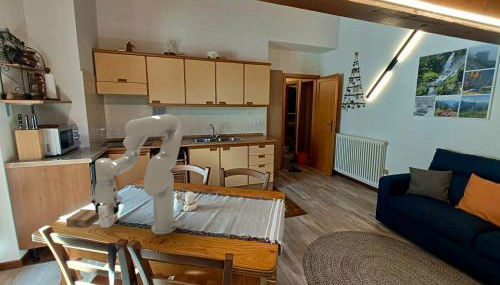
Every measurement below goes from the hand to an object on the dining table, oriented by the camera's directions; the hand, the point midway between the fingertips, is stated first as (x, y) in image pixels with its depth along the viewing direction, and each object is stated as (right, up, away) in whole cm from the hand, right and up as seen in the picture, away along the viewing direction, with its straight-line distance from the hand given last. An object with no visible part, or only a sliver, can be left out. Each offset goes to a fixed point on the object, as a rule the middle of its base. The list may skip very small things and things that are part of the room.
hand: (107, 212), depth 125 cm
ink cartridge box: (0, -7, +1) cm, 7 cm away
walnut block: (-14, -6, +3) cm, 15 cm away
